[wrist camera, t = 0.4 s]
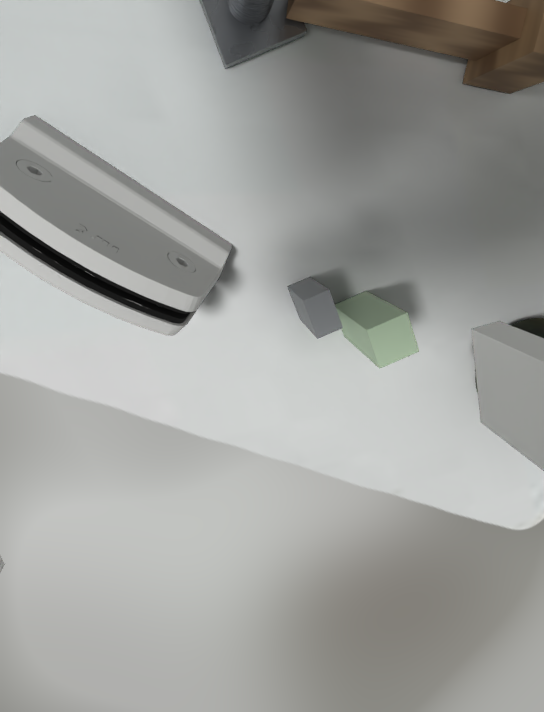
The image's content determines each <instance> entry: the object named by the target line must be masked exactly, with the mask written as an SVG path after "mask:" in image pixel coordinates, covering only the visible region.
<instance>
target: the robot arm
mask: <svg viewBox="0 0 544 712" xmlns="http://www.w3.org/2000/svg"><path fill="white" fill-rule="evenodd" d="M471 331H472V341H473V351H474V360H475V370H476V380H477V390H478V400H479V410H480V420H481V423H482V424H484V425H485V426H486V427H487V428H489V429H490V430H491V431H493V432H494V433H495V434H496V435H498V436H499V437H500V438H502V439H503V440H504V441H506V442H507V443H508V444H509V445H511V446H512V447H513V448H515V449H516V450H517V451H519V452H520V453H521V454H522V455H524V456H525V457H526V458H528V459H529V460H530V461H532V462H533V463H534V464H535V465H537V466H538V467H539V468H541V469H542V470H543V471H544V338H541V337H539V336H536V335H534V334H531V333H529V332H526V331H523V330H521V329H518V328H516V327H513V326H511V325H508V324H505V323H503V322H500V321H497V322H494V323H490V324H487V325H483V326H480V327H476V328H473V329H471ZM4 565H5V564H4V562H3V560H2V558H1V556H0V572H1V570H2V569H3V566H4Z"/></svg>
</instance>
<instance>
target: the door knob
mask: <svg viewBox="0 0 544 712" xmlns="http://www.w3.org/2000/svg"><path fill="white" fill-rule="evenodd" d="M200 3H201V6H202V8H203V11H204V14H205V16H206V19H207V22H208V24H209V27H210V30H211V32H212V35H213V38H214V40H215V43H216V46H217V48H218V51H219V54H220V56H221V59H222V62H223V64H224V67H225V69H226V68H229V67H231V66H233V65H236V64H238V63H241V62H243V61H245V60H248V59H250V58H252V57H255V56H257V55H260V54H262V53H264V52H267V51H269V50H271V49H274V48H276V47H279V46H281V45H283V44H286V43H288V42H290V41H293V40H295V39H298V38H300V37H302V36H304V35H305V33H306V32H307V30H306V27H305V24H304V22H300V21H296V20H292V19H287V18H286V14H287V7H288V0H200Z"/></svg>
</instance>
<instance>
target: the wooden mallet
mask: <svg viewBox="0 0 544 712" xmlns="http://www.w3.org/2000/svg"><path fill="white" fill-rule="evenodd" d="M286 18H287V19H292V20H296V21H300V22H305V23H309V24H314V25H318V26H323V27H327V28H331V29H336V30H340V31H345V32H349V33H354V34H358V35H363V36H367V37H371V38H376V39H380V40H385V41H389V42H394V43H398V44H402V45H407V46H411V47H416V48H420V49H425V50H429V51H434V52H438V53H442V54H447V55H451V56H456V57H460V58H465V59H468V62H467V66H466V70H465V75H464V79H463V84H467V85H472V86H477V87H481V88H486V89H491V90H495V91H500V92H505V93H509V94H510V93H513V92H516V91H519V90H522V89H524V88H527V87H530V86H533V85H536V84H539V83H542V82H544V0H510V1H509V2H507V3H503V2H500V1H496V0H288V7H287V14H286Z"/></svg>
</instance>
